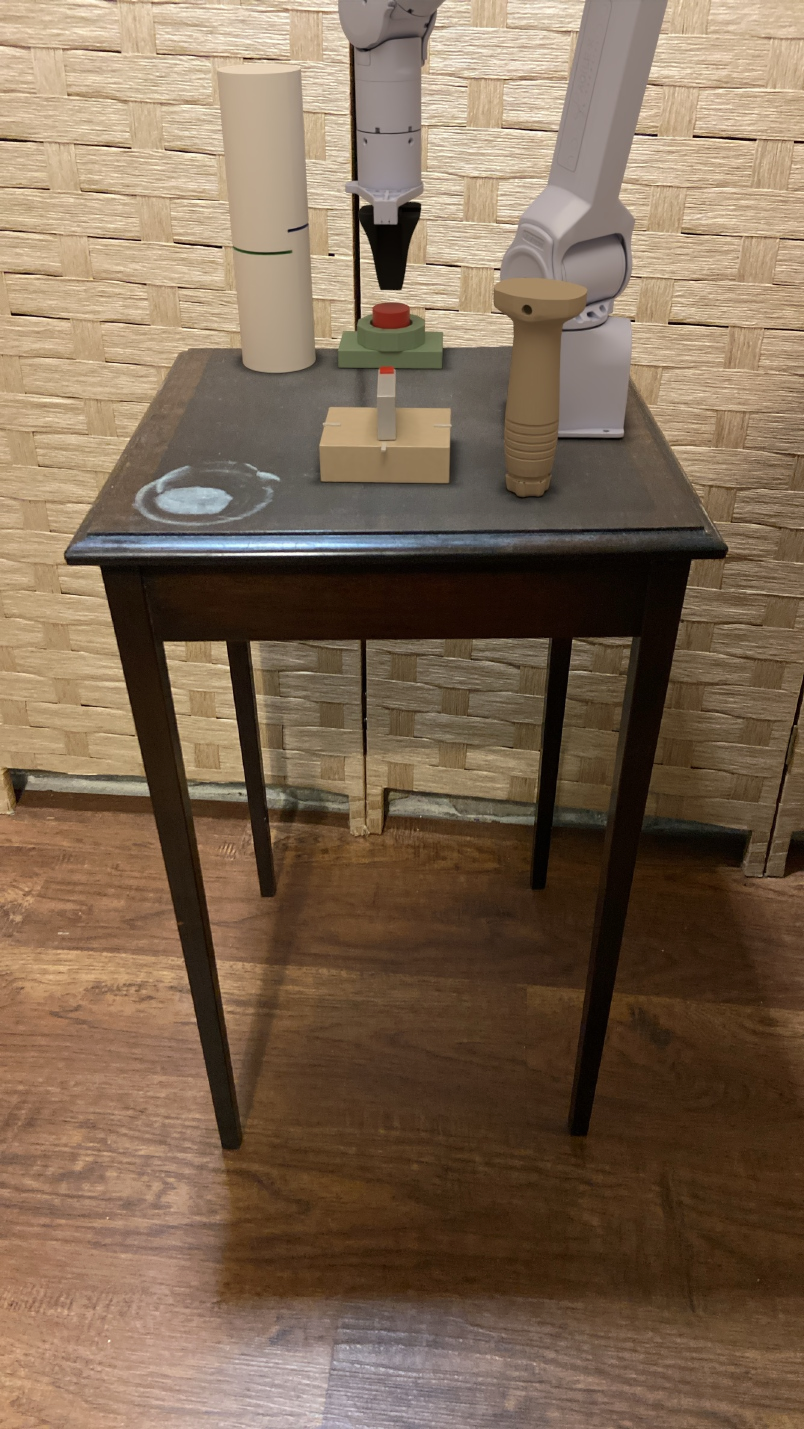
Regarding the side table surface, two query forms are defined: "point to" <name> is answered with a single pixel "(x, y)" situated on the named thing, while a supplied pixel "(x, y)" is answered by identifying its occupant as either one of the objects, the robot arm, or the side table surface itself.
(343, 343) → the button block
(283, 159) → the cylindrical container
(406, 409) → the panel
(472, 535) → the side table surface
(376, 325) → the button
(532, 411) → the handle
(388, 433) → the grey rectangular plate
